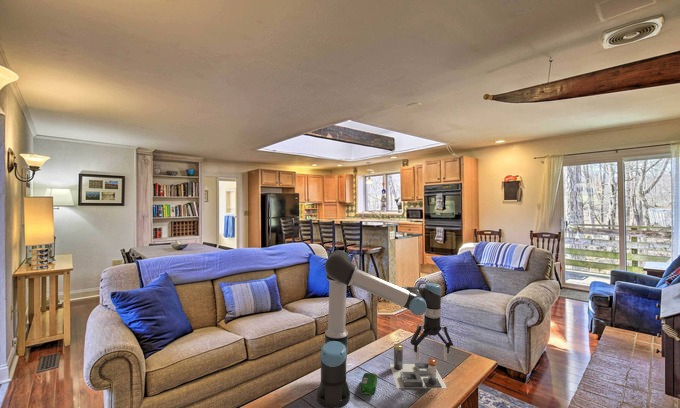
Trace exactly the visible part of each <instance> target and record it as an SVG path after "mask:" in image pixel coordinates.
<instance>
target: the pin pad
mask: <svg viewBox="0 0 680 408" xmlns="http://www.w3.org/2000/svg"><path fill="white" fill-rule="evenodd" d="M423 380H424V382H425V384H426V387H427V388H426V389H443V388H442V386H441V384H440V383H439V381H438V379H437V378H436V384H435V385H432V384H429V383H428V378H423Z"/></svg>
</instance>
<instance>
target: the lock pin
mask: <svg viewBox="0 0 680 408" xmlns="http://www.w3.org/2000/svg"><path fill="white" fill-rule="evenodd" d="M427 361H428V362H427V363H428V383H429V384H432V385H435V384H436V369H437V364H438V363H437V359H436V358H434V357H430V358H428V359H427Z"/></svg>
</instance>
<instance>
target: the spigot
mask: <svg viewBox="0 0 680 408" xmlns="http://www.w3.org/2000/svg"><path fill="white" fill-rule="evenodd" d="M403 347H404V346H403V344H402V343H395V344H394V345H393V364H394V369H396V370H402V369H403V364H404V363H403V362H404V361H403V360H404V359H403V357H404V356H403V353H404V352H403V351H404V350H403V349H404V348H403Z"/></svg>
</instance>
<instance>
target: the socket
mask: <svg viewBox="0 0 680 408" xmlns="http://www.w3.org/2000/svg"><path fill="white" fill-rule="evenodd" d="M414 364H415V369H416V371H417V372H418V373H419V375H428V370H419V368H428V362H414Z"/></svg>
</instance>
